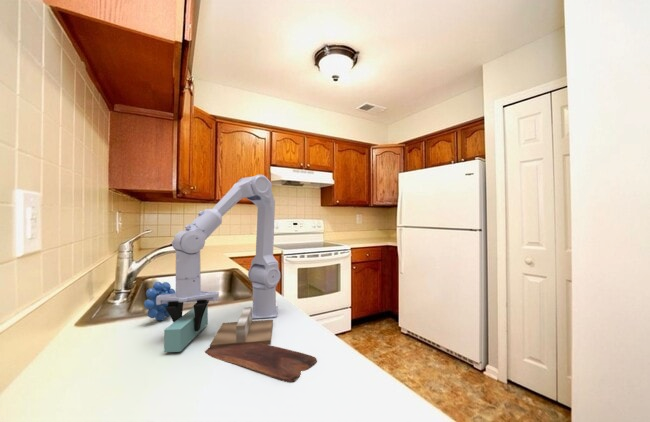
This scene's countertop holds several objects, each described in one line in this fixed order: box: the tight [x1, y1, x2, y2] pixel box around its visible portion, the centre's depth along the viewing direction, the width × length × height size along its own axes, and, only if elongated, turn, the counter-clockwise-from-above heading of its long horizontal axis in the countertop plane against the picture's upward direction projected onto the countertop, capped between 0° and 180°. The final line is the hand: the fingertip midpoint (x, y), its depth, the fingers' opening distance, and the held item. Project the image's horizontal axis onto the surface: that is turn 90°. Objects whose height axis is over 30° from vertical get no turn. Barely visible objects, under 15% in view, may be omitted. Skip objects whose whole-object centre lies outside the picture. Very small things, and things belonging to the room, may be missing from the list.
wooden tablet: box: [204, 343, 318, 383], centre depth 60 cm, size 26×2×10 cm
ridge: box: [209, 306, 274, 349], centre depth 71 cm, size 14×14×5 cm
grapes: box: [143, 281, 176, 322], centre depth 82 cm, size 12×7×12 cm, turn 170°
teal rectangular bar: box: [163, 305, 209, 353], centre depth 69 cm, size 16×4×5 cm, turn 3°
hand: (188, 330), depth 69 cm, fingers closed on teal rectangular bar, 4 cm apart
